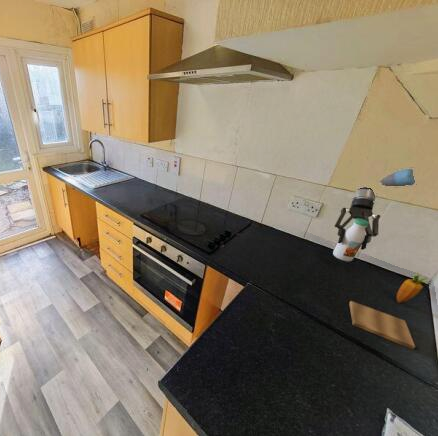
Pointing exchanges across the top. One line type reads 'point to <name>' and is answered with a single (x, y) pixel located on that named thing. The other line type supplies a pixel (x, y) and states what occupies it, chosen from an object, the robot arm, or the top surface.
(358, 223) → the milk bottle
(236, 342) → the top surface
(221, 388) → the top surface
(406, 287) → the carrot
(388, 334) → the chopping board
